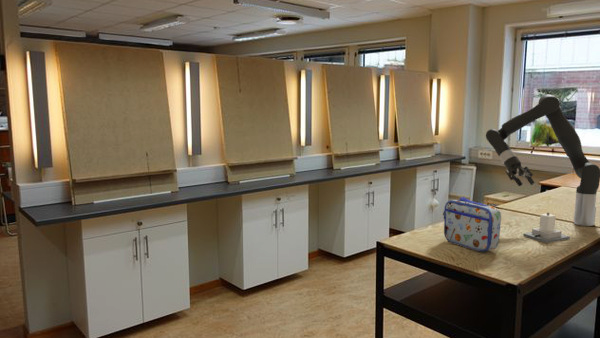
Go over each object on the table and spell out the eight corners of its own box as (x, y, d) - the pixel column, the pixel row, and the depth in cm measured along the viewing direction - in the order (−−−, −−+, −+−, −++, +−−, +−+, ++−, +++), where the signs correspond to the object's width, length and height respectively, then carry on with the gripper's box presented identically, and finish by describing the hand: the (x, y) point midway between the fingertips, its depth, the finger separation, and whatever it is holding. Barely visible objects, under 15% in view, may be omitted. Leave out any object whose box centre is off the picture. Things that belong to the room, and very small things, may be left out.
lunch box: (437, 240, 222) (439, 195, 218) (452, 236, 227) (454, 193, 224) (487, 256, 199) (490, 206, 195) (502, 252, 204) (505, 203, 201)
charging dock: (546, 231, 234) (546, 224, 233) (569, 238, 222) (570, 231, 222) (523, 235, 228) (523, 228, 227) (546, 243, 216) (546, 235, 215)
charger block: (545, 233, 228) (547, 211, 226) (553, 235, 224) (555, 213, 222) (539, 234, 226) (540, 212, 224) (547, 236, 222) (548, 214, 220)
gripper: (504, 156, 240) (521, 181, 231) (524, 154, 246) (541, 179, 237) (495, 165, 246) (512, 190, 237) (515, 163, 251) (532, 187, 243)
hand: (527, 184), depth 237 cm, fingers open, 8 cm apart
